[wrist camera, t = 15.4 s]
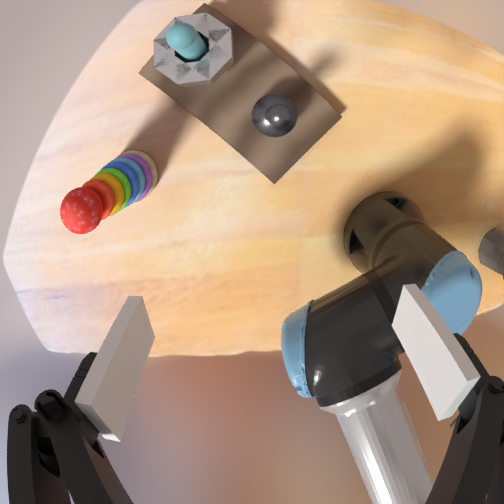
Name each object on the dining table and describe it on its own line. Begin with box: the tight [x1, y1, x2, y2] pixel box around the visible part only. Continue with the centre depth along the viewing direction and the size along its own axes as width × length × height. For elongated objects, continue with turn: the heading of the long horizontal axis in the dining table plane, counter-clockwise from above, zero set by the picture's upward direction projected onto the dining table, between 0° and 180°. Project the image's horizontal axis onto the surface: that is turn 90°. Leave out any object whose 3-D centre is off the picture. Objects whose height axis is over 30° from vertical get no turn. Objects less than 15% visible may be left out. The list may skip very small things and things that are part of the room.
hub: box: [166, 23, 209, 63], centre depth 26 cm, size 7×7×14 cm
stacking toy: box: [60, 150, 157, 234], centre depth 33 cm, size 8×8×19 cm
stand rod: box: [252, 94, 297, 137], centre depth 31 cm, size 6×6×11 cm
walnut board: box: [139, 3, 342, 184], centre depth 35 cm, size 26×14×2 cm, turn 48°
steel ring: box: [154, 13, 234, 87], centre depth 27 cm, size 9×9×4 cm
